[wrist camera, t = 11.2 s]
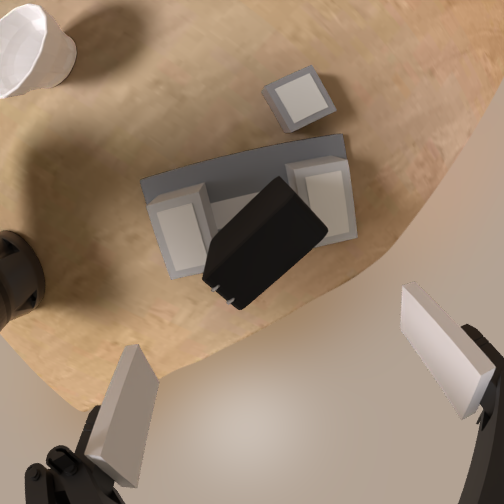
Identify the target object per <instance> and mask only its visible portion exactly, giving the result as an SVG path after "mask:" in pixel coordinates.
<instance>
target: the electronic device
mask: <svg viewBox="0 0 504 504" xmlns="http://www.w3.org/2000/svg"><path fill="white" fill-rule="evenodd" d="M327 233H328V228H327V226H326V225H325V224H324V223H323V222H322V221H321V220H320V219H319V218H318V216H317V215H316V214H315V213H314V212H313V211H312V210H311V209H310V208H309V207H308V205H307V204H306V203H305V202H304V201H303V200H302V199H301V198H300V197H299V196H298V195H297V194H296V193H295V191H294V190H293V189H292V188H291V187H290V186H289V185H288V184H287V183H286V182H285V181H284V180H283V179H282V178H281V177H280V176H278V177H276V178H275V179H273V180H272V181H271V182H270V183H269V184H268V185H267V186H266V187H264V188H263V189H262V190H261V191H260V192H259V193H258V194H257V195H256V196H255V197H254V198H253V199H252V200H251V201H250V202H249V203H248V204H247V205H246V206H245V207H244V208H243V209H242V210H240V211H239V212H238V213H237V214H236V215H235V216H234V217H233V218H232V219H231V220H230V221H229V222H228V223H227V224H226V225H225V226H224V227H223V228H222V229H221V230H220V231H219V232H218V233H217V234H216V235H215V236H214V237H213V239H212V240H211V242H210V245H209V250H208V254H207V258H206V263H205V267H204V272H203V277H202V280H203V281H204V282H205V283H206V284H208V285H209V286H210V287H211V288H212V289H211V291H212V292H214V291H216V292H217V293H218V294H220V295H221V296H222V297H223V298H224V299H226V300H227V302H226V303H227V304H228V305H229V304H232V305H233V306H234V307H235V308H237V309H238V310H242V309H243V308H245V307H246V306H247V305H249V304H250V303H251V302H252V301H253V300H255V299H256V298H257V297H258V296H259V295H260V294H261V293H263V292H264V291H265V290H266V289H267V288H268V287H270V286H271V285H272V284H273V283H274V282H275V281H277V280H278V279H279V278H280V277H281V276H282V275H283V274H285V273H286V272H287V271H288V270H289V269H290V268H291V267H292V266H294V265H295V264H296V263H297V262H298V261H299V260H300V259H302V258H303V257H304V256H305V255H306V254H307V253H308V252H309V251H311V250H312V249H313V248H314V247H315V246H316V245H317V244H318V243H319V242H321V241H322V240H323V238H324V237H325V236H326V235H327Z"/></svg>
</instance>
